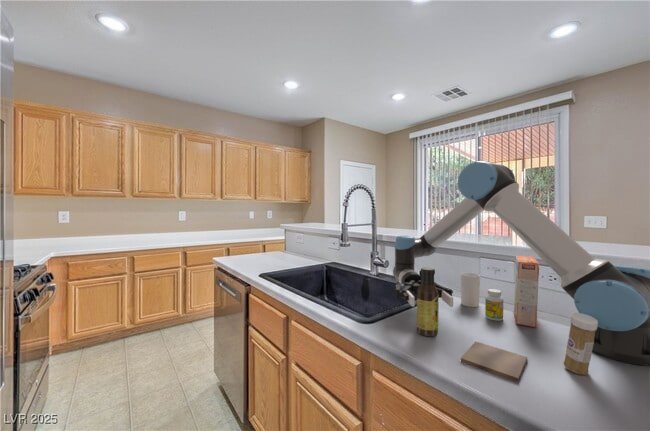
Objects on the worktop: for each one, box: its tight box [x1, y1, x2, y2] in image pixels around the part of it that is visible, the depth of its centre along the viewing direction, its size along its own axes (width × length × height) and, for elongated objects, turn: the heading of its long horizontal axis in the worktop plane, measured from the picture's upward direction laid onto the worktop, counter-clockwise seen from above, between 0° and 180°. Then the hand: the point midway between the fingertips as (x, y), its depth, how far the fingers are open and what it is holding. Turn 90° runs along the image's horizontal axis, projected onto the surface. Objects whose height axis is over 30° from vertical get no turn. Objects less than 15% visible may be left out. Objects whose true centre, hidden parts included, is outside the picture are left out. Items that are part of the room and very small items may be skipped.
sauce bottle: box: [416, 266, 440, 337], centre depth 87 cm, size 6×6×20 cm
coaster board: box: [460, 341, 528, 383], centre depth 71 cm, size 12×12×1 cm
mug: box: [460, 271, 481, 308], centre depth 112 cm, size 10×7×12 cm, turn 129°
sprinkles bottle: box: [563, 312, 598, 376], centre depth 66 cm, size 5×5×14 cm
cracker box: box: [513, 255, 540, 328], centre depth 97 cm, size 14×6×21 cm, turn 148°
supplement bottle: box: [484, 288, 504, 322], centre depth 98 cm, size 5×5×10 cm
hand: (432, 302), depth 83 cm, fingers open, 10 cm apart
